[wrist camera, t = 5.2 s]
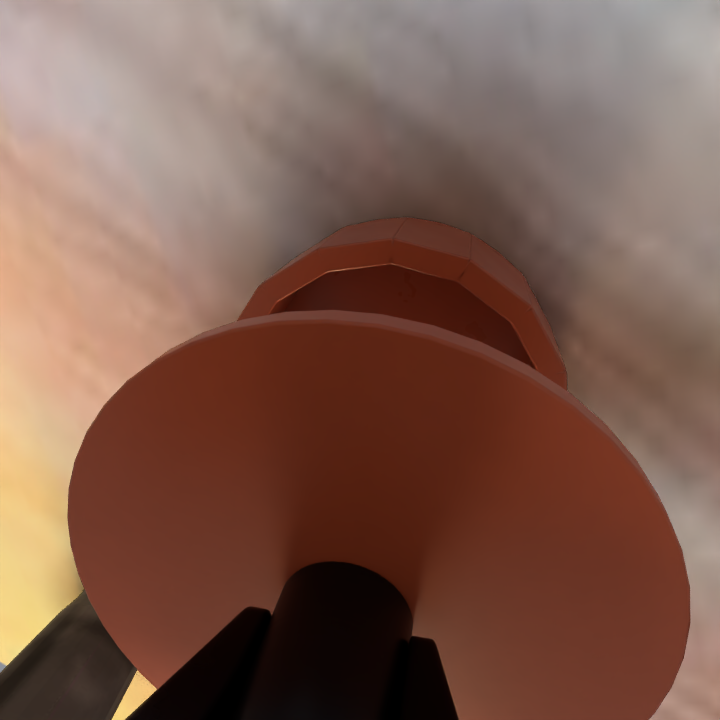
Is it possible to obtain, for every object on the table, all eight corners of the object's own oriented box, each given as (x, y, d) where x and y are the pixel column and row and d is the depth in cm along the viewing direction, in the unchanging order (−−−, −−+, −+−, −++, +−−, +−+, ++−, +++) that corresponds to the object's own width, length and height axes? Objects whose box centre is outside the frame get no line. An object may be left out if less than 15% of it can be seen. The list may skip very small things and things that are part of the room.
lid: (688, 254, 7) (1087, 501, 2) (655, 770, 11) (780, 1222, 7) (19, 330, 10) (-387, 513, 5) (191, 723, 14) (50, 1018, 9)
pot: (544, 194, 16) (563, 214, 13) (554, 476, 20) (571, 551, 17) (235, 240, 19) (180, 267, 15) (298, 482, 23) (265, 548, 19)
